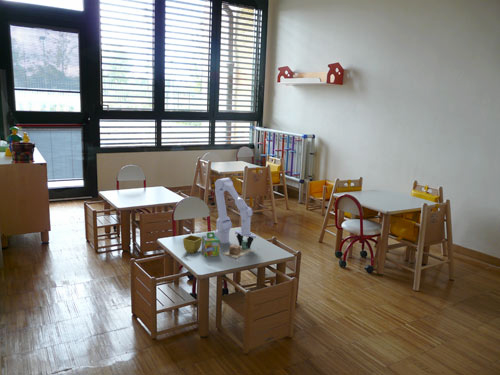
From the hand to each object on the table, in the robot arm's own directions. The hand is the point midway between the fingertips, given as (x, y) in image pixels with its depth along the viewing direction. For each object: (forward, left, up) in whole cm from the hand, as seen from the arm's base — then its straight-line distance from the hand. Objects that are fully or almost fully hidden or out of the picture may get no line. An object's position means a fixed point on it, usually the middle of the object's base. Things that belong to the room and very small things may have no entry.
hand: (244, 246), depth 272 cm
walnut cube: (0, -12, -1) cm, 12 cm away
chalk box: (-12, -20, -3) cm, 24 cm away
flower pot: (-25, -22, -3) cm, 33 cm away
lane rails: (0, -7, -3) cm, 7 cm away
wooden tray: (0, -8, -3) cm, 8 cm away
